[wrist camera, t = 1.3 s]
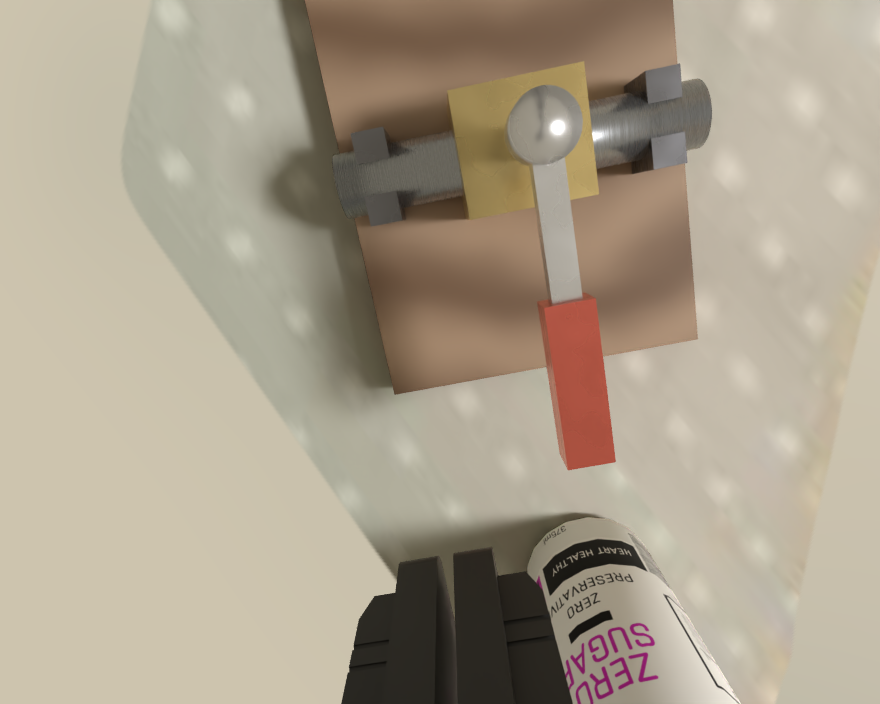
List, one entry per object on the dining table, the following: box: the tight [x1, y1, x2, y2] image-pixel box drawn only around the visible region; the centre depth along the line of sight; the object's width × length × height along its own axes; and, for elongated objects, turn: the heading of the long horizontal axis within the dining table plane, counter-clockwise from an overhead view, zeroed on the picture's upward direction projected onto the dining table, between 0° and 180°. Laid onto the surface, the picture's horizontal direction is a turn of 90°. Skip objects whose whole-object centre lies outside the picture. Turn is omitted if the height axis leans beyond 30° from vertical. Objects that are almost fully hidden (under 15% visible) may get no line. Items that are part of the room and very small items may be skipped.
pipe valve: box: [332, 61, 712, 227], centre depth 25 cm, size 6×18×9 cm, turn 101°
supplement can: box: [527, 517, 741, 704], centre depth 29 cm, size 8×8×15 cm
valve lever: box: [504, 85, 616, 470], centre depth 21 cm, size 15×3×2 cm, turn 11°
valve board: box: [305, 0, 698, 395], centre depth 29 cm, size 24×18×2 cm
